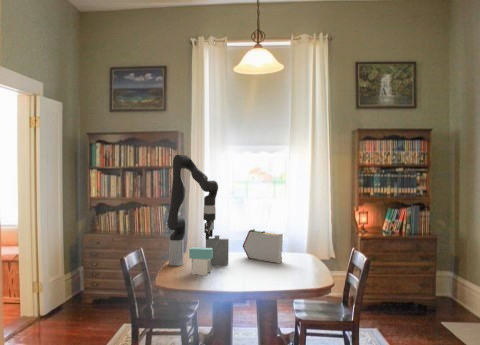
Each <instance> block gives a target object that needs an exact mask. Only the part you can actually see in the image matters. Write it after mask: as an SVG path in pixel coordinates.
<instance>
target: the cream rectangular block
mask: <svg viewBox="0 0 480 345" xmlns="http://www.w3.org/2000/svg"><path fill="white" fill-rule="evenodd" d="M208 272H210V273H211V265H210V259H192V258H191V275H195V274H198V276H208Z"/></svg>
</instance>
